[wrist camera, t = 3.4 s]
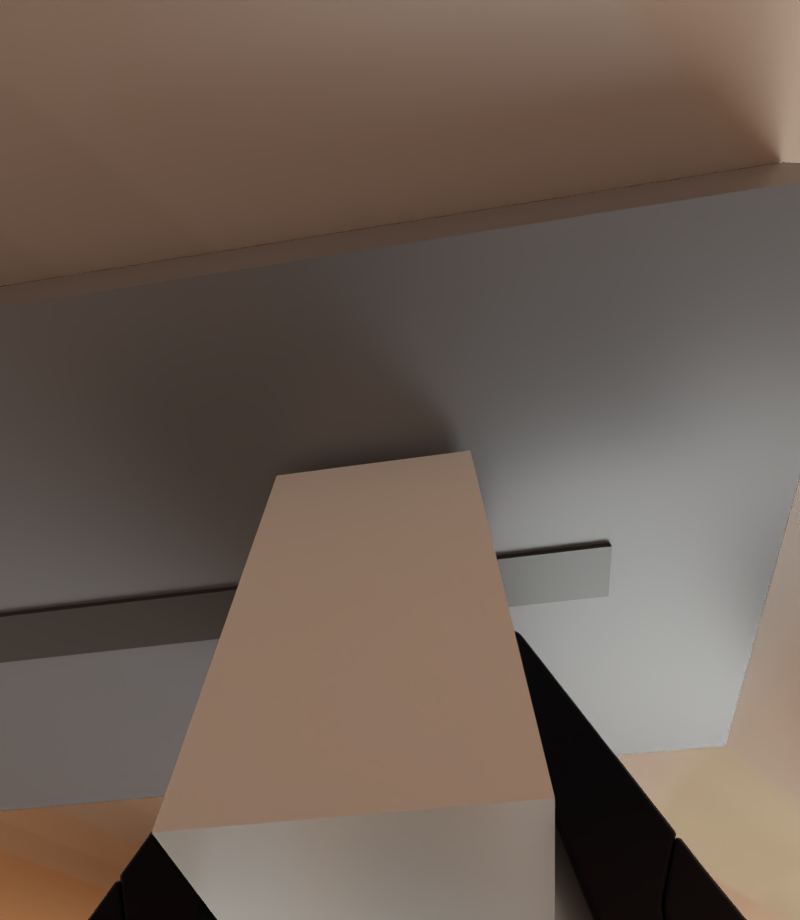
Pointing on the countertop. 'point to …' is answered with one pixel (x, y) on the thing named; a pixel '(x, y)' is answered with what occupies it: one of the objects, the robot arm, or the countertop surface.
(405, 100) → the countertop surface
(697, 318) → the fader console
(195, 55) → the countertop surface
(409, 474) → the fader tab
